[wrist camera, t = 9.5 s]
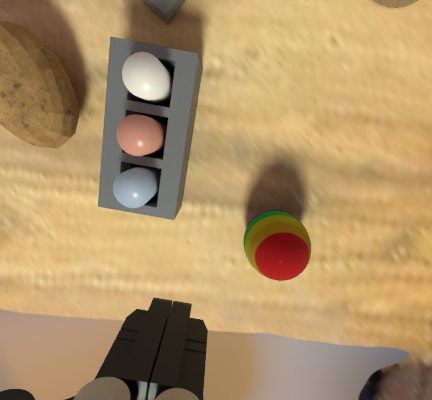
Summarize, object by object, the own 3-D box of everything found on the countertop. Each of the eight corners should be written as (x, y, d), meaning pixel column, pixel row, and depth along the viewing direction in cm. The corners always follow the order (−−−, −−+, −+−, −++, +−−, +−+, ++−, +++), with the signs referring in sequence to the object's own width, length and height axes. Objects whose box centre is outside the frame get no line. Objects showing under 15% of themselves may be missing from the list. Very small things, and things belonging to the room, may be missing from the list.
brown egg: (137, 114, 32) (118, 110, 26) (170, 121, 32) (159, 118, 26) (133, 148, 33) (114, 152, 27) (166, 154, 33) (154, 159, 27)
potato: (53, 162, 36) (8, 170, 29) (-16, 63, 34) (-87, 42, 26) (112, 125, 35) (82, 123, 27) (46, 19, 32) (-10, -17, 24)
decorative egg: (267, 192, 37) (284, 214, 27) (311, 228, 38) (342, 261, 28) (229, 236, 38) (232, 271, 29) (273, 269, 40) (289, 313, 30)
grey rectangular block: (130, 53, 33) (110, 36, 27) (202, 67, 33) (198, 53, 27) (117, 194, 37) (97, 206, 31) (181, 206, 37) (174, 219, 32)
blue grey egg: (133, 161, 34) (114, 167, 28) (165, 167, 34) (153, 174, 28) (130, 192, 34) (111, 204, 29) (160, 197, 35) (148, 211, 29)
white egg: (142, 64, 31) (124, 48, 25) (177, 70, 31) (167, 56, 25) (138, 100, 32) (120, 93, 26) (172, 107, 32) (161, 101, 26)
